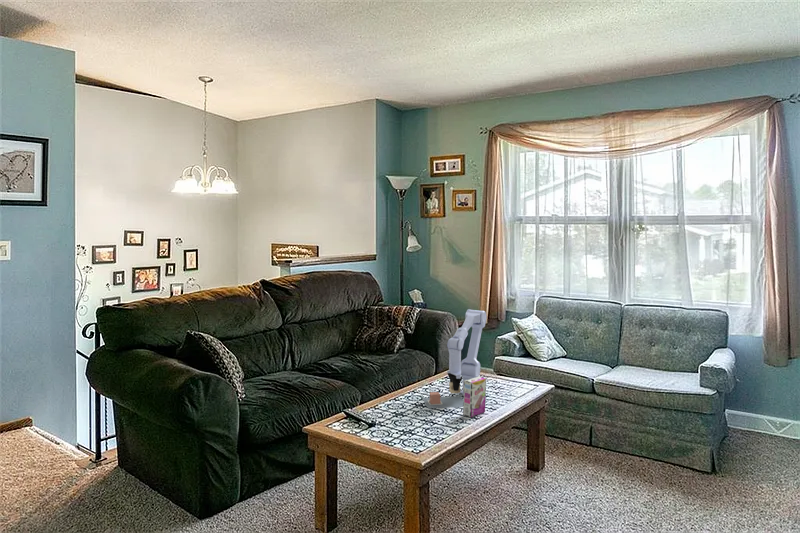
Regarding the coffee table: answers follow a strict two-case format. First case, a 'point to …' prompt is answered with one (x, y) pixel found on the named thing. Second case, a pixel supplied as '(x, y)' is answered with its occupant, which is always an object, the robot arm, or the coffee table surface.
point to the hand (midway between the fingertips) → (454, 388)
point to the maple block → (452, 388)
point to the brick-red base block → (434, 397)
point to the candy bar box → (474, 396)
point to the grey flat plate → (445, 402)
